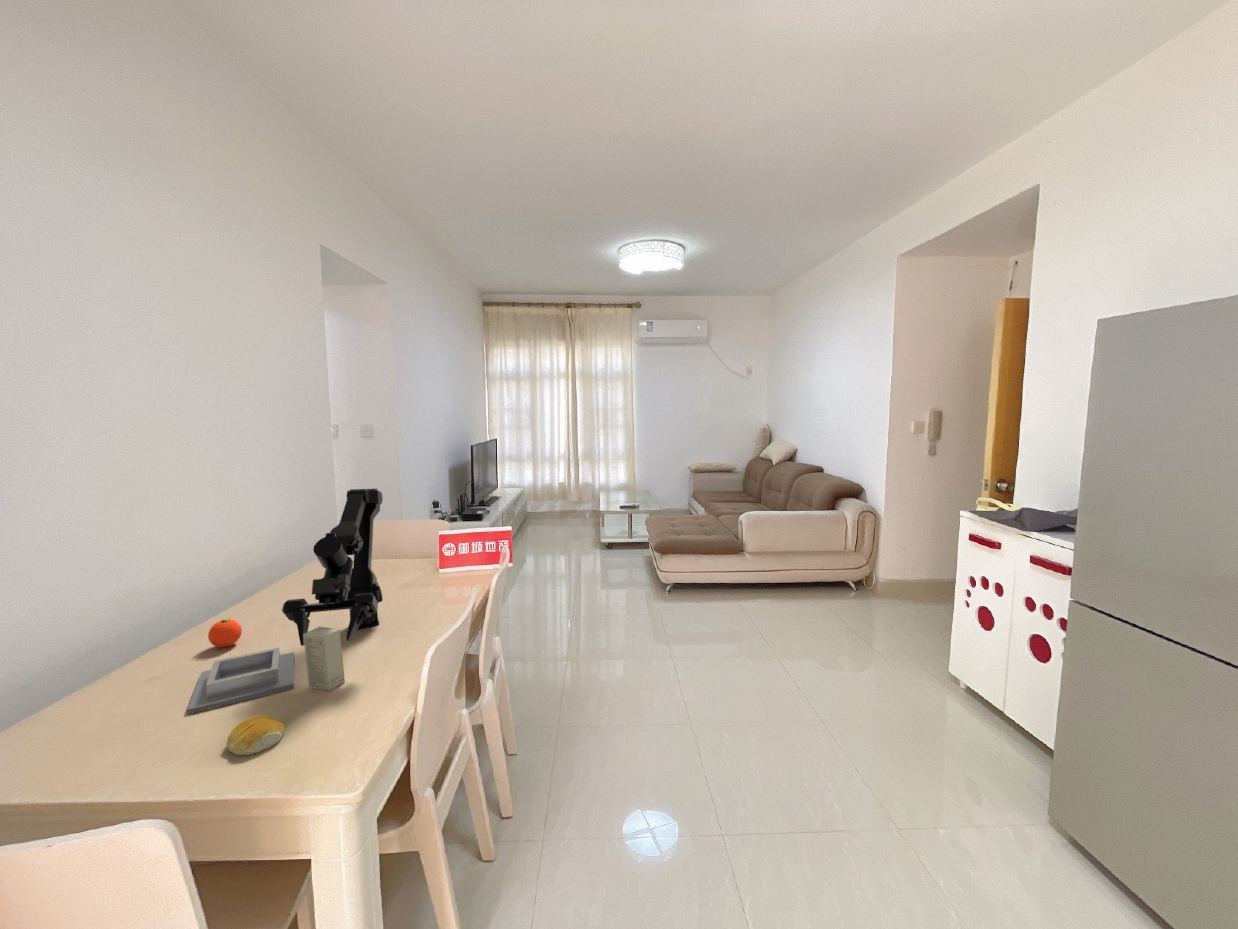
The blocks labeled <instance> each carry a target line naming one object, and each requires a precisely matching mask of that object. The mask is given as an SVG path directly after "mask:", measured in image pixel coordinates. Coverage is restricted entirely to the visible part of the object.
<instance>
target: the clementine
mask: <svg viewBox="0 0 1238 929" xmlns="http://www.w3.org/2000/svg"><path fill="white" fill-rule="evenodd" d="M242 631H243V629H242V626H241V624H240V623H239V622H238V621H237V620H235V619H231V618H230V617H227V618H223V619H221V620H219V621H217V622H215V623H214V624H213V625H212V626H211V627H210V629H209V630H208V634H207V638H208V642H210V644H212V645H213V646H214V647H217V648H228V647H230V646H232V645H234V644H235V643H237V642H238V641H239V639H240V638H241V635H242Z"/></svg>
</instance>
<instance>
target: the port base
mask: <svg viewBox="0 0 1238 929" xmlns="http://www.w3.org/2000/svg"><path fill="white" fill-rule="evenodd" d="M295 659H296V655H295V651H293V652H292V651H291V652H288V653H284V654H280V673H279V682H276V683H272V684H268V685H264V686H260V687H255V688H251V689H247V690H243V691H239V692H234V693H230V694H226V695H222V696H218V697H213V698H209V699H207V691H206V683H207V680H208V678H209V675H210V672H211V669H208V670H205V671H204V670H203V671H201V673H200V675H199V678H198V680H197V683H196V686H195V689H194V691H193V694H192V697H191V698H190V699H191V700H190V702H189V705H188V707H187V715H192V714H193V713H192V712H196V713H199V711H200V712H203V711H202V710H204V711H207V710H206V709H208V710H210V709H209V708H212V709H215V708H214V707H216V708H218V707H217V706H220V705H224V706H227V705H226V704H228V705H231V704H230V703H232V704H234V703H233V702H236V703H240V702H244V701H248V700H251V699H257V698H260V697H264V696H268V695H273V694H277V693H279V692H284V691H289V690H293V689H295V664H296V663H295V662H296V660H295ZM271 667H272V663H271V664H266V665H262V666H257V667H253V668H248V669H244V670H239V671H235V672H230V673H226V674H221V677H220V680H221V679H225V678H229V677H234V676H238V675H243V674H247V673H252V672H256V671H261V670H265V669H269V668H271ZM220 707H221V706H220ZM191 713H192V714H191Z"/></svg>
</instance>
